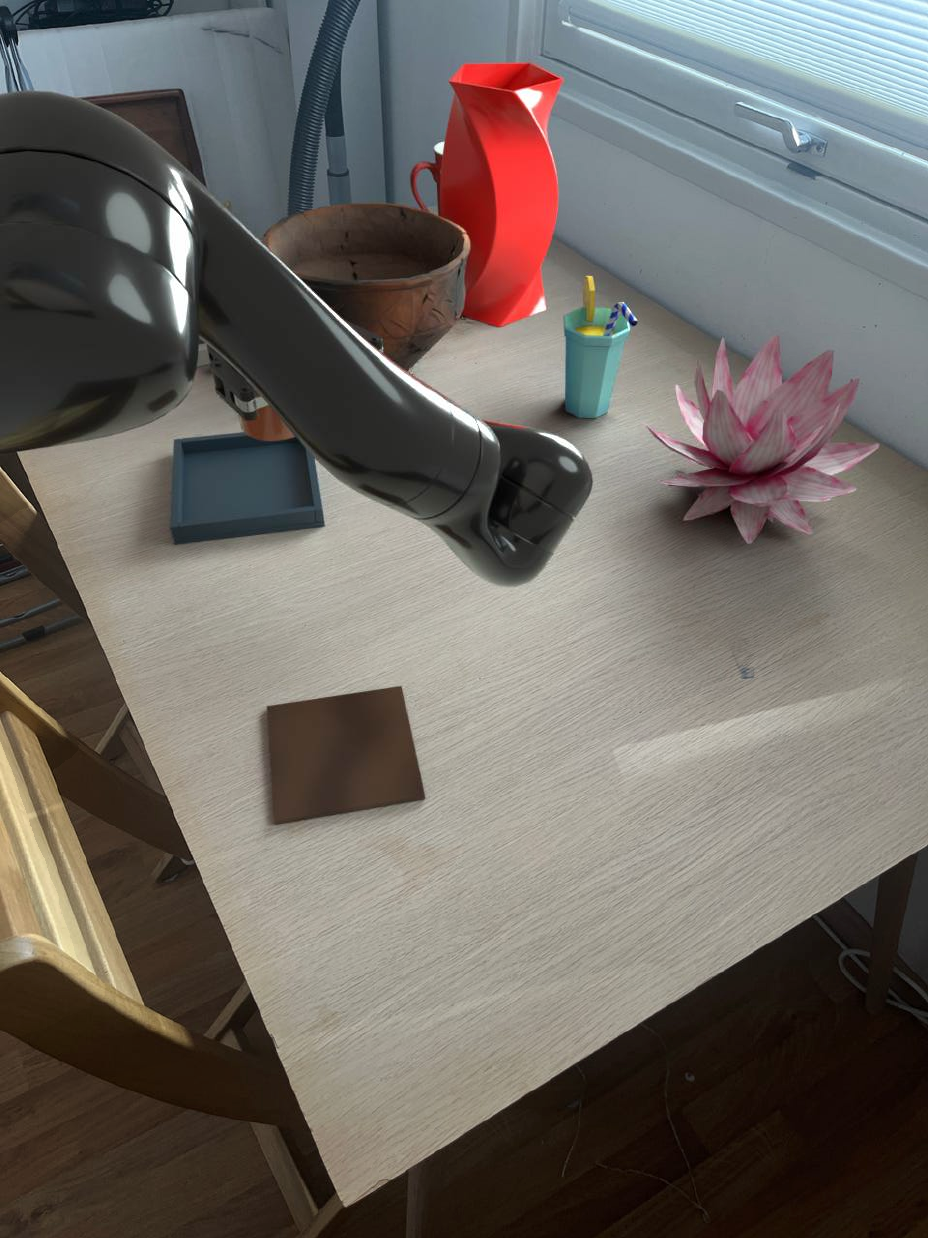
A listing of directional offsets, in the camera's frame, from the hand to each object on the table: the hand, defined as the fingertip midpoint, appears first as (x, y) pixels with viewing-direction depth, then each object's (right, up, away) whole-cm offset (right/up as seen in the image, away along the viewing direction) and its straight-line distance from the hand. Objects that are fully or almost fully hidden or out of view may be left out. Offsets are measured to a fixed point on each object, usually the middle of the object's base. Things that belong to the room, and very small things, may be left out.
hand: (249, 334), depth 76 cm
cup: (+33, 0, +28) cm, 44 cm away
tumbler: (+1, -7, +4) cm, 8 cm away
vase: (+22, +20, +48) cm, 57 cm away
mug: (+17, +36, +64) cm, 75 cm away
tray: (-4, -11, +16) cm, 20 cm away
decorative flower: (+47, -12, +16) cm, 51 cm away
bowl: (+7, +9, +37) cm, 39 cm away
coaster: (+9, -35, -8) cm, 37 cm away
